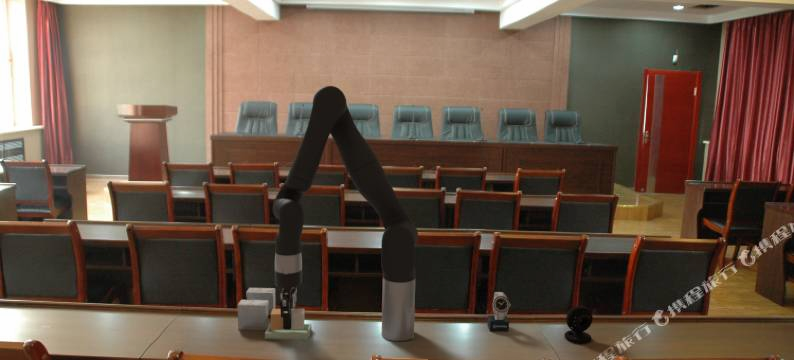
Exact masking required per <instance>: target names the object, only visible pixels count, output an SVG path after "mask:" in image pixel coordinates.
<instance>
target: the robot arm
mask: <svg viewBox="0 0 794 360" xmlns="http://www.w3.org/2000/svg"><path fill="white" fill-rule="evenodd" d="M330 135H331V137H332V139H333V141H334V143H335V145H336V147H337V150H338V154H339V155H340V158H341V161H342V163H343V166H344V168H345V170H346V173H347V175H348V176H349V177H350V179H351V182H352V183H353V185H354V187H355V188H356V190H357V191H358V193H359V194H360V195H361V196H362V197H363V198H364V199H365V201H367V203H368V204H369V205H370V206H371V207H372V209H374V210H375V212H376V213H377V215H378V217H379V219H380V221H381V223H382V225H383V228H384V232H383V234H382V237H381V249H380V251H381V252H380V253H381V258H380V259H381V264H380V265H381V270H382V295H381V296H382V297H381V298H382V299H381V300H382V301H381V336H382V337H383V338H385V339H386V340H388V341H392V342H393V341H394V342H403V341H404V342H405V341H408V340H414V339H415V318H416V317H415V315H416V308H415V307H416V305H415V304H416V303H415V297H416V295H415V294H416V272H417V271H416V268H415V248H416V247H415V246H416V245H417V243H418V241H419V240H418V239H419V232H418V229H417V227H416V225H415V224H414V222H413V220H412V219H411V217H410V215H409V214H408V213H407V212H406V210H405V209H404V207H403V205H402V204H401V202H400V200H399V199H398V197H397V195H396V193H395V191H394V189H393V186H392V184H391V182H390V180H389V178H388V176H387V174H386V172H385V170H384V168H383V166H382V164H381V162H380V161H379V159H378V157H377V154H376V153H375V152H374V150H373V148H372V146H370V144H369V143H368V142H367V140H366V139H365V138H364V136H363V135H362V133H360V131H359V130H358V127H357V125H356V123H355V121H354V119H353V117H352V115H351V112H350V110H349V106H348V103H347V98H346V96H345V94H344V92H343V91H342V90H341V89H340V88H339V87H337V86H334V85H326V86H322V87H320V88H319V89H318V90H317V91H316V92H315V94H314V95H313V98H312V106H311V111H310V116H309V119H308V123H307V127H306V130H305V133H304V136H303V138H302V140H301V143H300V145H299V148H298V150H297V152H296V154H295V157H294V159H293V161H292V164H291V167H290V169H289V172H288V174H287V177H286V179H285V182H284V183H283V184H282V185H281V187H280V189H279V191H278V193H277V194H276V196H275V199H274V202H273V204H272V213H273V215H274V217H275V218H276V219H277V220H278V221H279V225H278V227H279V229H278V232H277V233H276V235H275V239H274V241H275V242H274V243H275V246H274V247H275V249H274V250H275V253H274V256H275V257H274V285H275V286H276V287H278V288H279V287H280V288H281V291H280V295H279V296H280V299H279V309H280V311H281V317H282V318H283V329H284V330H290V329H291V316H292V309H296V305H297V293H298V292H297V288H298V287H299V286H301V285H302V284H303V259H302V258H303V257H302V239H301V238H302V233H303V228H304V221H305V210H304V207H303V205H302V204H301V202H300V201H301V199H302V198H303V195H304V194H305V193H308V192H309V191H310V190H311V187H312V185H313V182H315V181H314V180H315V177H316V175H317V172H318V170H319V167H320V164H321V161H322V158H323V154H324V151H325V148H326V145H327V142H328V139H329V138H330V137H329V136H330ZM285 311H287V312H288V313H285Z"/></svg>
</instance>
